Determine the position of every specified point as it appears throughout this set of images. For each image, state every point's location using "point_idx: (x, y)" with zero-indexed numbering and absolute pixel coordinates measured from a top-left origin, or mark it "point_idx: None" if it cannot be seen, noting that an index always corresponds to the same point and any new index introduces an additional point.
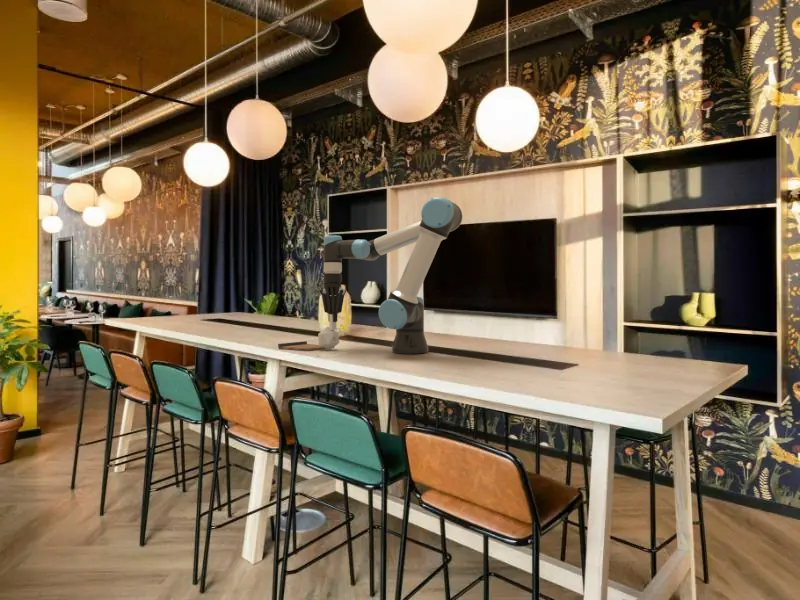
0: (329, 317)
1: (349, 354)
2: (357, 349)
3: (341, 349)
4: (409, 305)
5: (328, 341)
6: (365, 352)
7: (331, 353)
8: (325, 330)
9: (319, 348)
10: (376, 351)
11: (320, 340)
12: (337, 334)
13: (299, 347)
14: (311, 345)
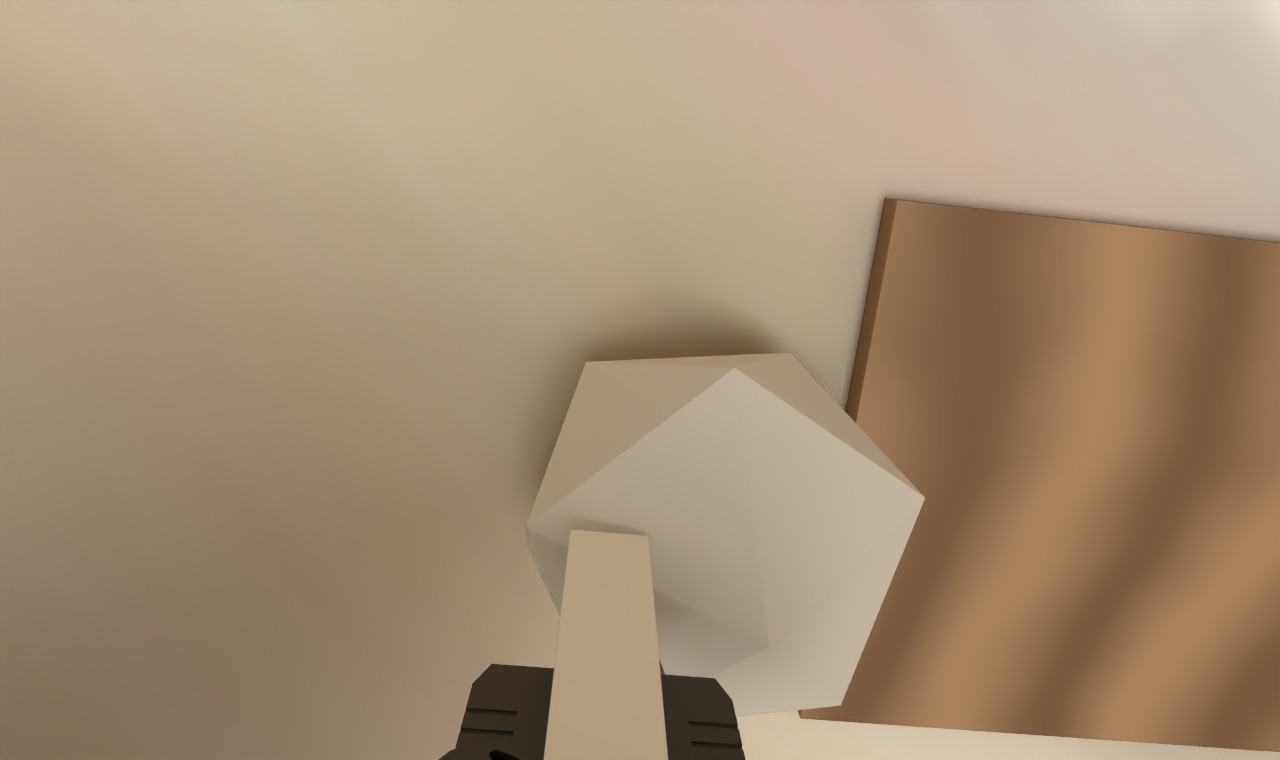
0: (659, 718)
1: (20, 113)
2: (406, 697)
3: None
4: None
5: (596, 374)
6: (32, 443)
7: (356, 108)
8: (725, 496)
9: None
10: (4, 607)
11: (758, 357)
12: None
13: (1134, 313)
14: (1131, 622)
